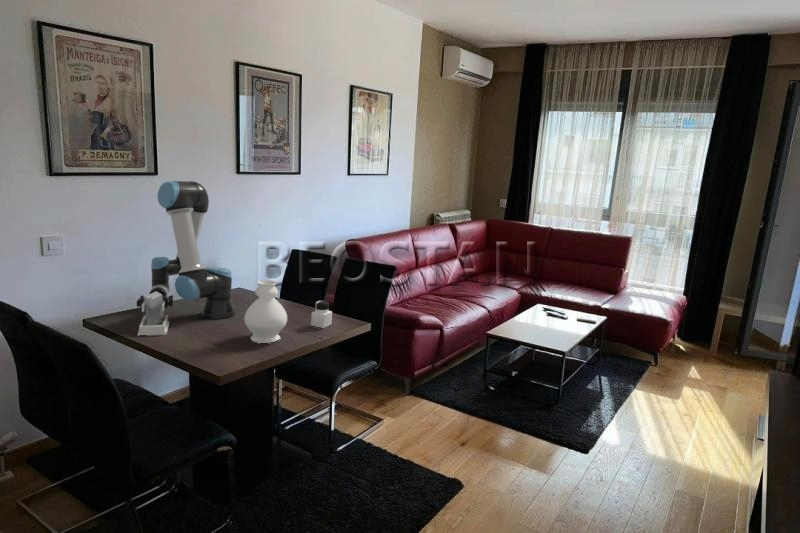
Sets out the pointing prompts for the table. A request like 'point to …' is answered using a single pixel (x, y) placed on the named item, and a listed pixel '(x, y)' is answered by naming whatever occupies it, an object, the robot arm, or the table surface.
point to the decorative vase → (265, 314)
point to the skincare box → (154, 302)
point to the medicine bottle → (321, 315)
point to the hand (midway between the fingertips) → (152, 308)
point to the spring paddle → (153, 317)
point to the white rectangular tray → (153, 327)
